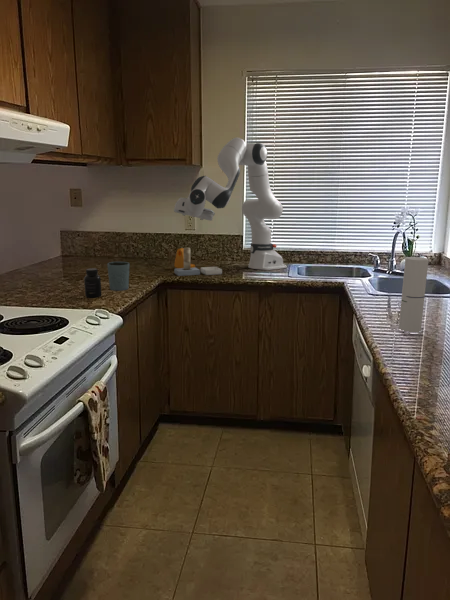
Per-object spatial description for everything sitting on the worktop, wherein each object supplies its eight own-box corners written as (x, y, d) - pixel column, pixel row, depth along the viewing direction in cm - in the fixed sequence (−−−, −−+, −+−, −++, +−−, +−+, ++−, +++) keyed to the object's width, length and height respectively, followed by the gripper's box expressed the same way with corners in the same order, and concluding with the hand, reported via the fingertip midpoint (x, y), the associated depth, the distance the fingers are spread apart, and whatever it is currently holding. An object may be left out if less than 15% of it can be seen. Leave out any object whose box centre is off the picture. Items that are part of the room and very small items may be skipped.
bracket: (195, 269, 279) (195, 248, 276) (185, 271, 275) (184, 249, 272) (184, 267, 287) (184, 246, 284) (174, 268, 283) (174, 247, 280)
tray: (216, 271, 275) (216, 266, 274) (221, 274, 266) (222, 269, 266) (200, 272, 272) (200, 267, 271) (205, 275, 263) (205, 270, 263)
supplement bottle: (88, 294, 217) (86, 267, 214) (103, 294, 217) (102, 267, 214) (83, 298, 211) (81, 270, 208) (99, 298, 210) (97, 270, 208)
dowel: (189, 273, 269) (189, 247, 265) (191, 274, 265) (191, 248, 262) (183, 273, 267) (182, 247, 264) (184, 274, 264) (184, 248, 261)
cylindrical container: (415, 335, 163) (423, 261, 157) (395, 331, 168) (401, 258, 162) (423, 331, 168) (431, 258, 162) (403, 327, 173) (410, 256, 167)
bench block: (195, 271, 272) (195, 267, 271) (200, 274, 265) (200, 269, 264) (174, 273, 268) (174, 268, 267) (178, 275, 261) (178, 271, 260)
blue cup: (118, 285, 236) (117, 260, 233) (135, 287, 231) (134, 262, 228) (103, 289, 227) (102, 263, 224) (121, 292, 223) (120, 265, 220)
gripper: (216, 206, 245) (213, 215, 258) (176, 196, 243) (175, 206, 256) (214, 218, 244) (211, 226, 257) (173, 208, 242) (172, 217, 255)
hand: (192, 216), depth 257 cm, fingers open, 8 cm apart
